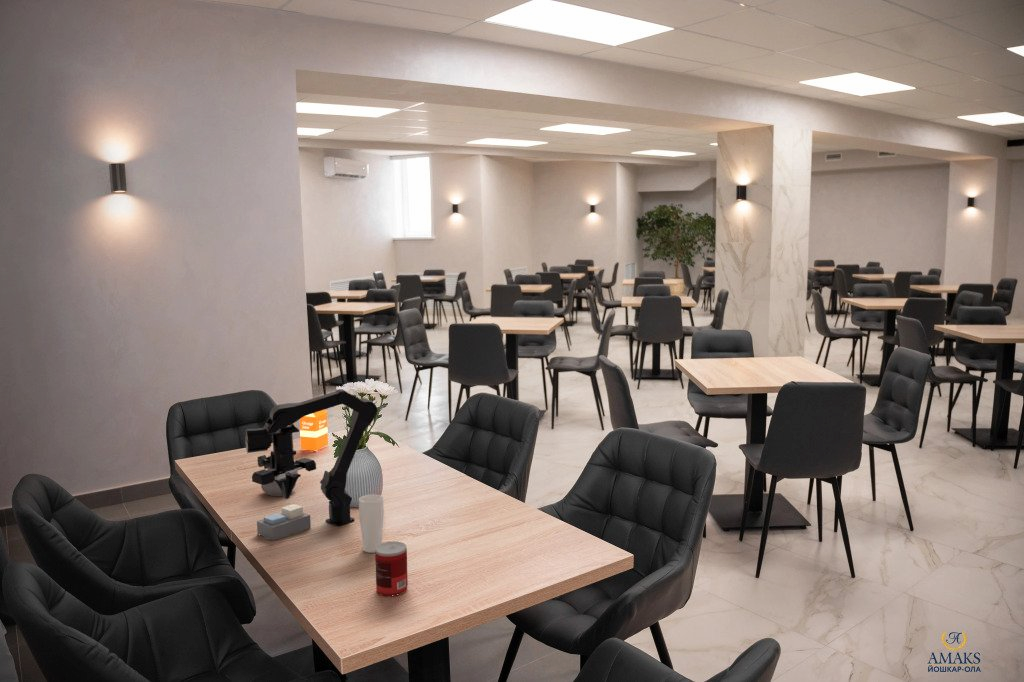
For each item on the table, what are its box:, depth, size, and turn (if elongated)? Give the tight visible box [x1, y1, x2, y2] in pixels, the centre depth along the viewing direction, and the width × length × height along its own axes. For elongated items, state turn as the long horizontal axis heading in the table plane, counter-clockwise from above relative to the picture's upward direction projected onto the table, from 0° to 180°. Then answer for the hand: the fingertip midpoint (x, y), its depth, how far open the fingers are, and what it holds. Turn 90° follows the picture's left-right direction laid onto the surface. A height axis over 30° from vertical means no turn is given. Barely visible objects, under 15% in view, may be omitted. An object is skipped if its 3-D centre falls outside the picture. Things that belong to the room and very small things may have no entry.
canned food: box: [374, 540, 409, 597], centre depth 187 cm, size 8×8×11 cm
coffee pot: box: [260, 455, 297, 497], centre depth 256 cm, size 21×12×15 cm, turn 30°
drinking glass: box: [358, 493, 385, 554], centre depth 211 cm, size 7×7×15 cm
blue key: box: [263, 512, 286, 525], centre depth 224 cm, size 4×4×4 cm
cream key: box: [281, 503, 304, 519], centre depth 228 cm, size 4×4×4 cm
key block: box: [256, 512, 312, 541], centre depth 226 cm, size 8×13×4 cm, turn 140°
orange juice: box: [299, 409, 329, 450], centre depth 317 cm, size 8×9×20 cm
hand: (286, 498), depth 226 cm, fingers closed
